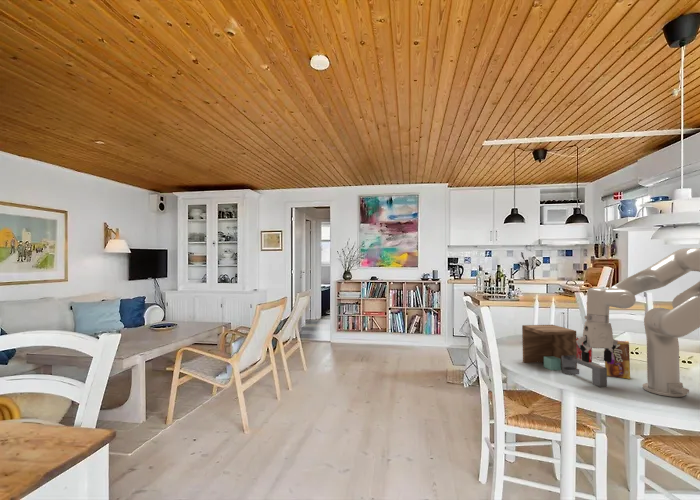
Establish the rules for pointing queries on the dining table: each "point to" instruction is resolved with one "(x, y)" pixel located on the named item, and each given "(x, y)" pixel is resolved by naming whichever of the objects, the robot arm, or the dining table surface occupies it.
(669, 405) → the dining table surface
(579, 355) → the soda can
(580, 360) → the crook
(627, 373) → the candy box
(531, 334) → the nook
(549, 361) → the block
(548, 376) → the dining table surface
